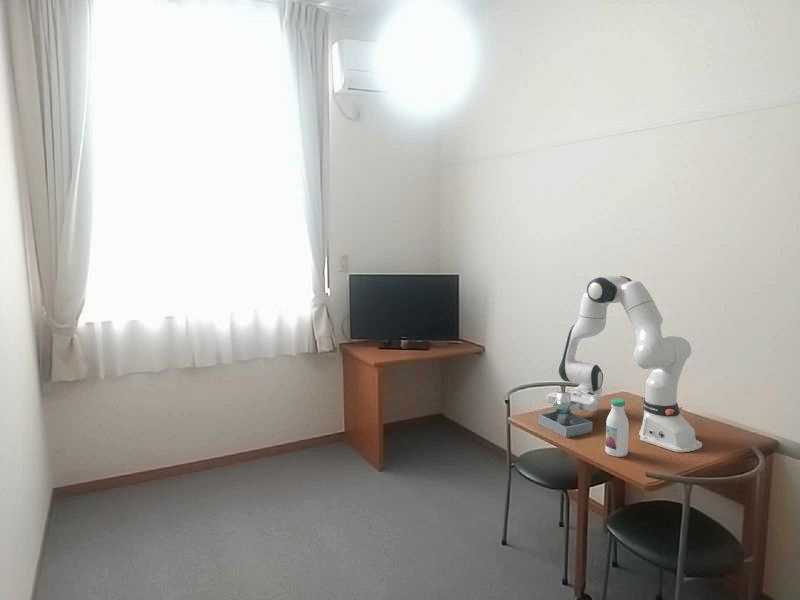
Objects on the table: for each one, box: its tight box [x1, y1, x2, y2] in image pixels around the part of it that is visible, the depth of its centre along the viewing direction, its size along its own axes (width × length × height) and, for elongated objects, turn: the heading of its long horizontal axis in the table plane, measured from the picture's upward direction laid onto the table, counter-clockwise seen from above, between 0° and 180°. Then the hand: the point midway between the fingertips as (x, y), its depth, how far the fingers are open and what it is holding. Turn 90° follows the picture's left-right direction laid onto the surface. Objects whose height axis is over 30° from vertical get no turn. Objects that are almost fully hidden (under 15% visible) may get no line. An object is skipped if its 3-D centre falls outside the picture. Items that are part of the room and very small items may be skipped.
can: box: [555, 390, 572, 424], centre depth 229 cm, size 6×6×12 cm
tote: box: [537, 410, 593, 439], centre depth 228 cm, size 17×13×4 cm
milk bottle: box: [604, 398, 630, 458], centre depth 201 cm, size 8×8×20 cm
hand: (562, 406), depth 229 cm, fingers open, 6 cm apart
